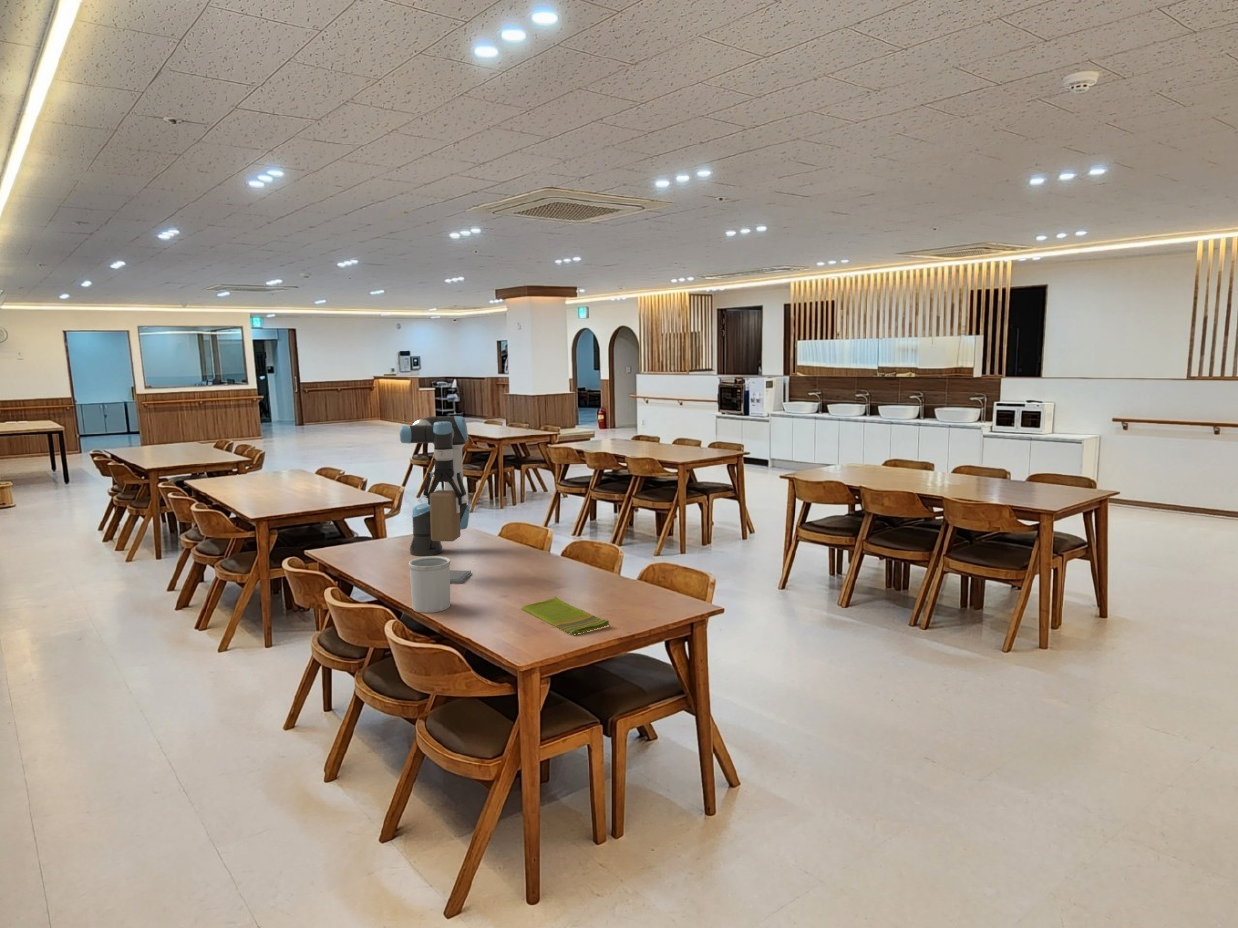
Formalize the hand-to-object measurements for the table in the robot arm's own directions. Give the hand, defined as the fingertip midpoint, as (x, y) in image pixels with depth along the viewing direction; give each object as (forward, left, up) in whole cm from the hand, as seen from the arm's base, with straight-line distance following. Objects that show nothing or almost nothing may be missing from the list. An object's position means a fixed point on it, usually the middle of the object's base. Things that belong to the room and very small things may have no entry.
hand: (445, 512), depth 327 cm
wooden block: (0, 0, -11) cm, 11 cm away
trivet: (0, 0, -28) cm, 28 cm away
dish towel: (+50, +56, -29) cm, 80 cm away
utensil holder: (+40, +5, -28) cm, 49 cm away
